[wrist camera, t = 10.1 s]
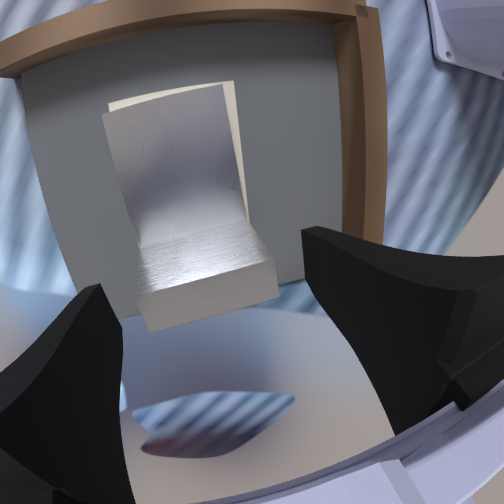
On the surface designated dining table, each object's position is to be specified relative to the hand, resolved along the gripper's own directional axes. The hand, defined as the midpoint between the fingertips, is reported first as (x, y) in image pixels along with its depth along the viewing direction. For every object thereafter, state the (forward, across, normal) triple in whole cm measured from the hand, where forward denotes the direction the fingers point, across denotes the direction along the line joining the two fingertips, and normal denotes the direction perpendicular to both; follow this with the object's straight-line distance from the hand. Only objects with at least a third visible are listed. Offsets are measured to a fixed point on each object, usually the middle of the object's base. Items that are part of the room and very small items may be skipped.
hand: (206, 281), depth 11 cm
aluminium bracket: (+4, 0, -3) cm, 5 cm away
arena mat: (+5, -1, -3) cm, 5 cm away
